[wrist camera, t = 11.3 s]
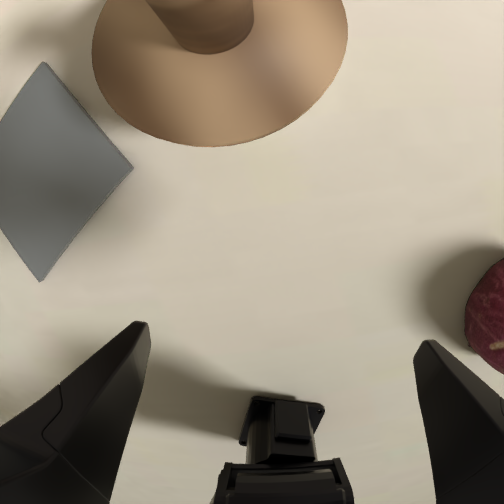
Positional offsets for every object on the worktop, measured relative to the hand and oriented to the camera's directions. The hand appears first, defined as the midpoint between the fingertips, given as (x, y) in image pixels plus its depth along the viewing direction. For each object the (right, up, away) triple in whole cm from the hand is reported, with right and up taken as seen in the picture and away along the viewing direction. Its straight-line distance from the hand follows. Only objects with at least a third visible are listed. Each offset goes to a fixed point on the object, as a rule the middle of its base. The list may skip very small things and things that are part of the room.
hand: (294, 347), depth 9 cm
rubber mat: (-19, +9, +11) cm, 24 cm away
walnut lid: (-3, +14, +4) cm, 15 cm away
